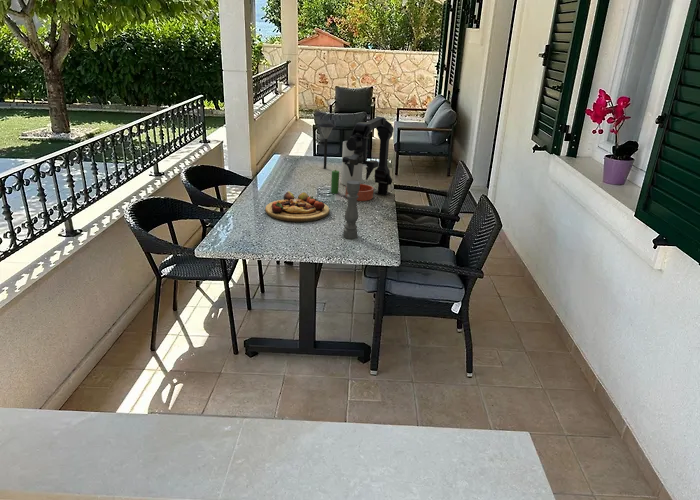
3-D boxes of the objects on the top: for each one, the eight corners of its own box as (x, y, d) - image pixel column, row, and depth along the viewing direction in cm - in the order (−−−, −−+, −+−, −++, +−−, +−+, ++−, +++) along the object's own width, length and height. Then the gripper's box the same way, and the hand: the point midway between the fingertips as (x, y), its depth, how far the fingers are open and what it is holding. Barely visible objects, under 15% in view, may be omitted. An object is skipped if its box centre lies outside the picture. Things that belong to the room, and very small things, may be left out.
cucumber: (333, 191, 291) (334, 168, 285) (339, 192, 289) (340, 169, 284) (329, 192, 287) (330, 170, 282) (335, 194, 285) (336, 171, 280)
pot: (354, 191, 293) (354, 182, 290) (377, 196, 285) (378, 187, 283) (339, 197, 280) (340, 187, 278) (364, 203, 273) (365, 193, 271)
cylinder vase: (350, 188, 298) (352, 145, 289) (336, 183, 307) (338, 141, 297) (365, 185, 306) (368, 143, 296) (352, 180, 315) (354, 140, 305)
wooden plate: (278, 226, 233) (278, 209, 230) (256, 205, 259) (256, 190, 256) (340, 218, 247) (340, 202, 244) (314, 199, 273) (314, 185, 270)
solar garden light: (317, 165, 345) (319, 120, 333) (335, 167, 343) (337, 122, 332) (314, 169, 333) (315, 123, 322) (332, 171, 332) (334, 125, 320)
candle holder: (342, 233, 229) (345, 180, 219) (356, 234, 230) (359, 180, 220) (343, 238, 223) (346, 184, 213) (357, 239, 224) (361, 184, 214)
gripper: (337, 147, 256) (335, 177, 261) (369, 153, 247) (366, 184, 253) (348, 144, 264) (347, 173, 270) (380, 150, 256) (377, 180, 262)
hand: (359, 178), depth 264 cm, fingers open, 9 cm apart
